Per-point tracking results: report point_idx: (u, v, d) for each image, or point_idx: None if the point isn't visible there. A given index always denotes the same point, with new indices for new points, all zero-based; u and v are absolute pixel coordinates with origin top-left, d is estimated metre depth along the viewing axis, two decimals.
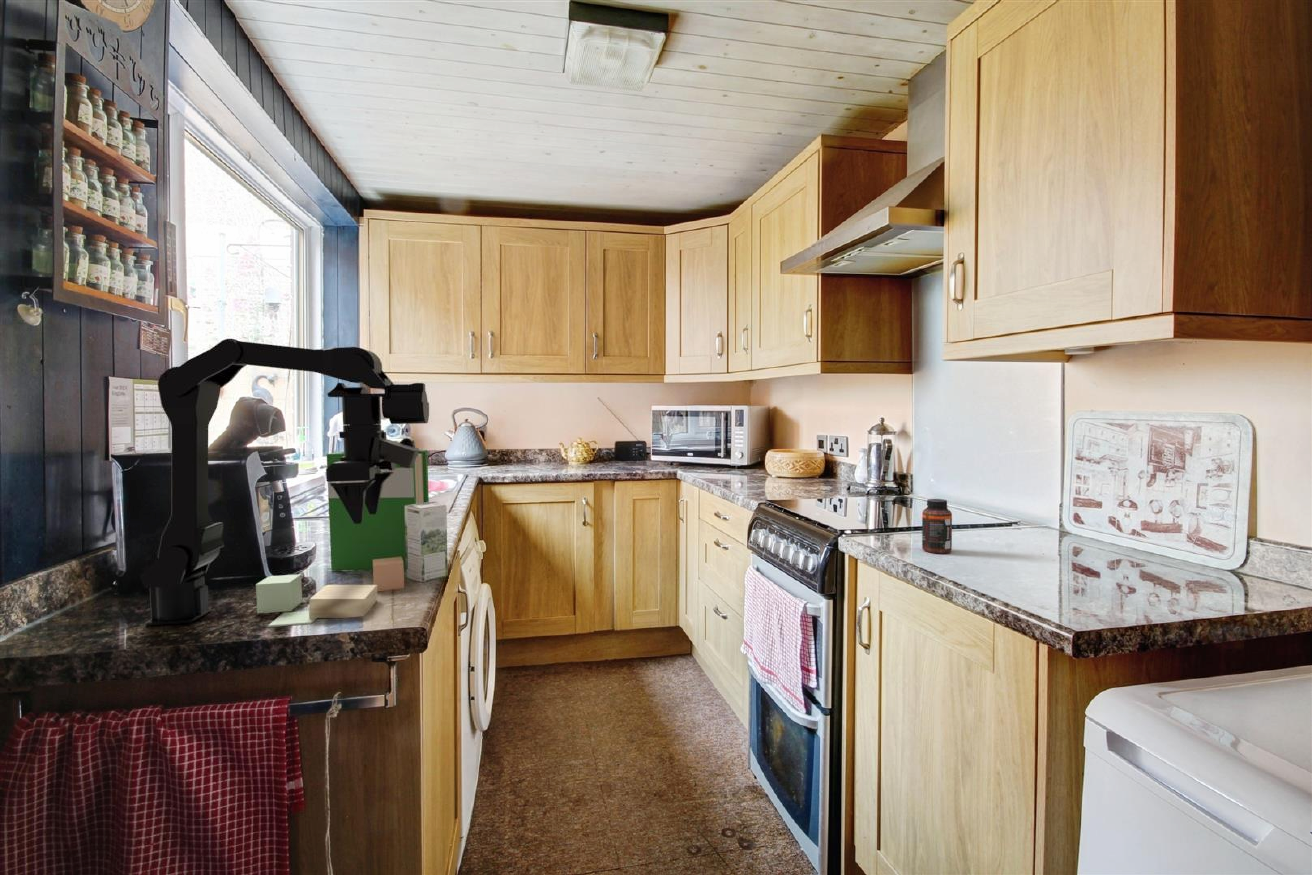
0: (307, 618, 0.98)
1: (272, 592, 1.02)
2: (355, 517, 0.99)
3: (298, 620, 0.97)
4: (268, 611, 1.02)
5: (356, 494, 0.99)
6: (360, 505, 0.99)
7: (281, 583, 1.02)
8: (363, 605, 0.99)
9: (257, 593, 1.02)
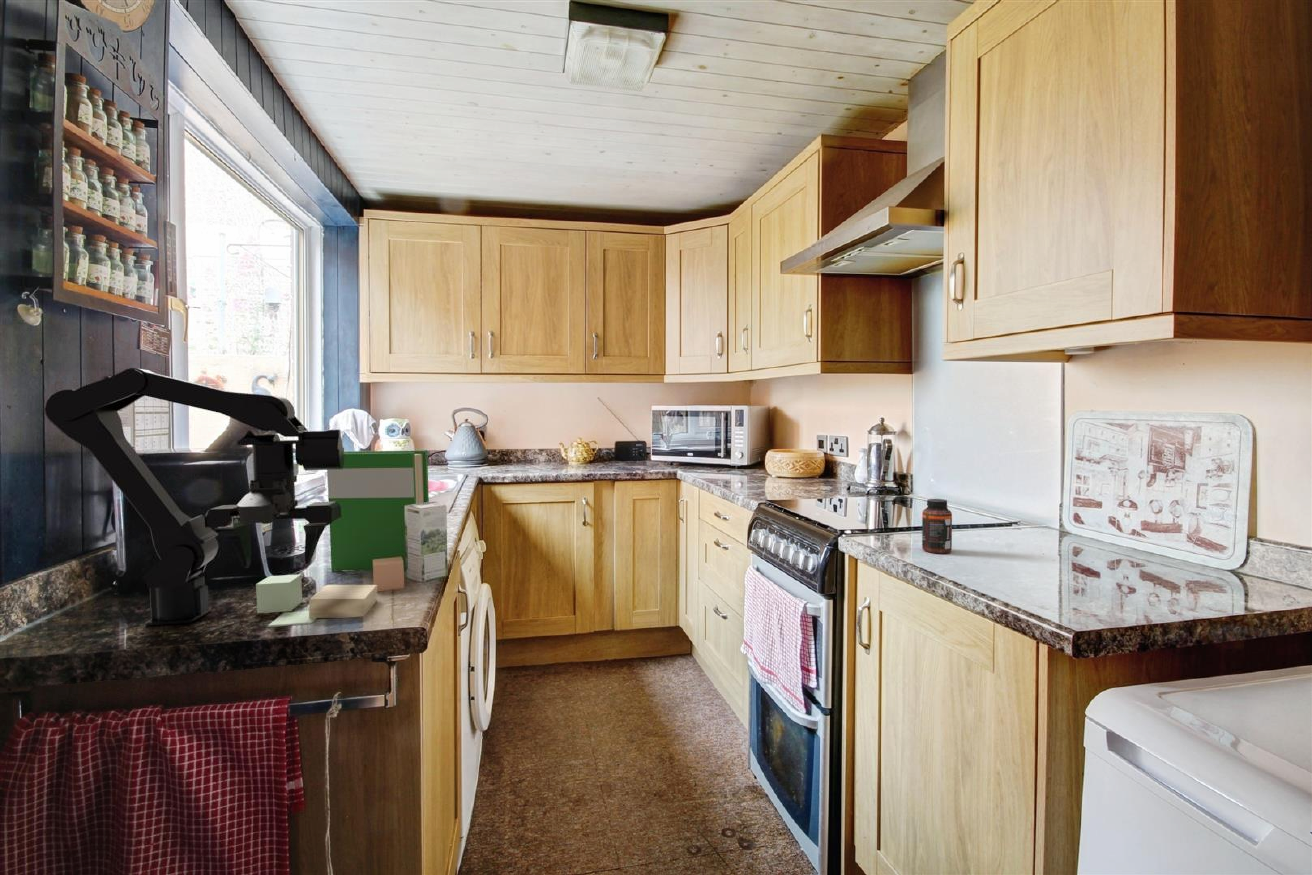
0: (307, 618, 0.98)
1: (272, 592, 1.02)
2: None
3: (298, 620, 0.97)
4: (268, 611, 1.02)
5: None
6: None
7: (281, 583, 1.02)
8: (363, 605, 0.99)
9: (257, 593, 1.02)
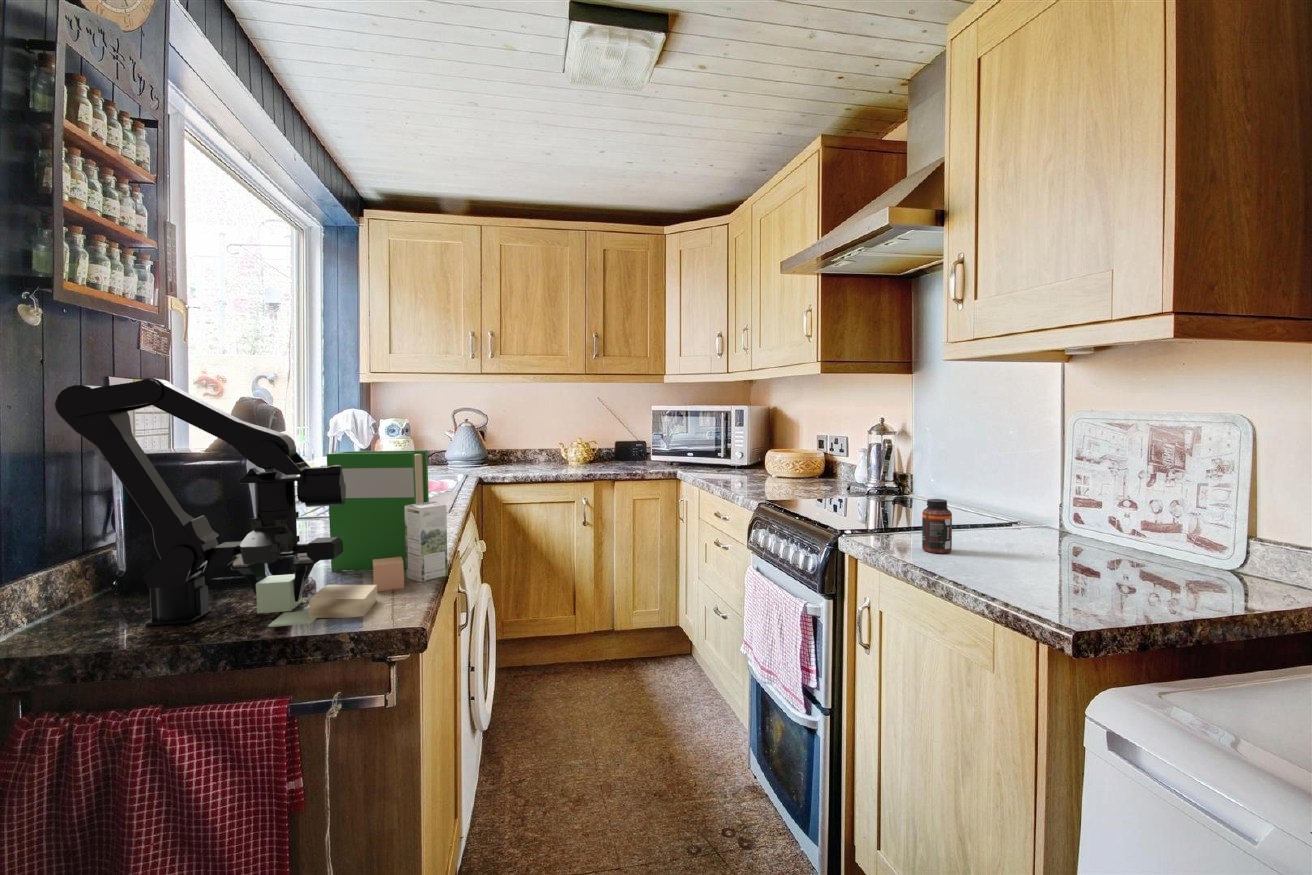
0: (307, 618, 0.98)
1: (272, 592, 1.02)
2: None
3: (298, 620, 0.97)
4: (268, 610, 1.02)
5: None
6: None
7: (281, 582, 1.02)
8: (363, 605, 0.99)
9: (257, 592, 1.02)
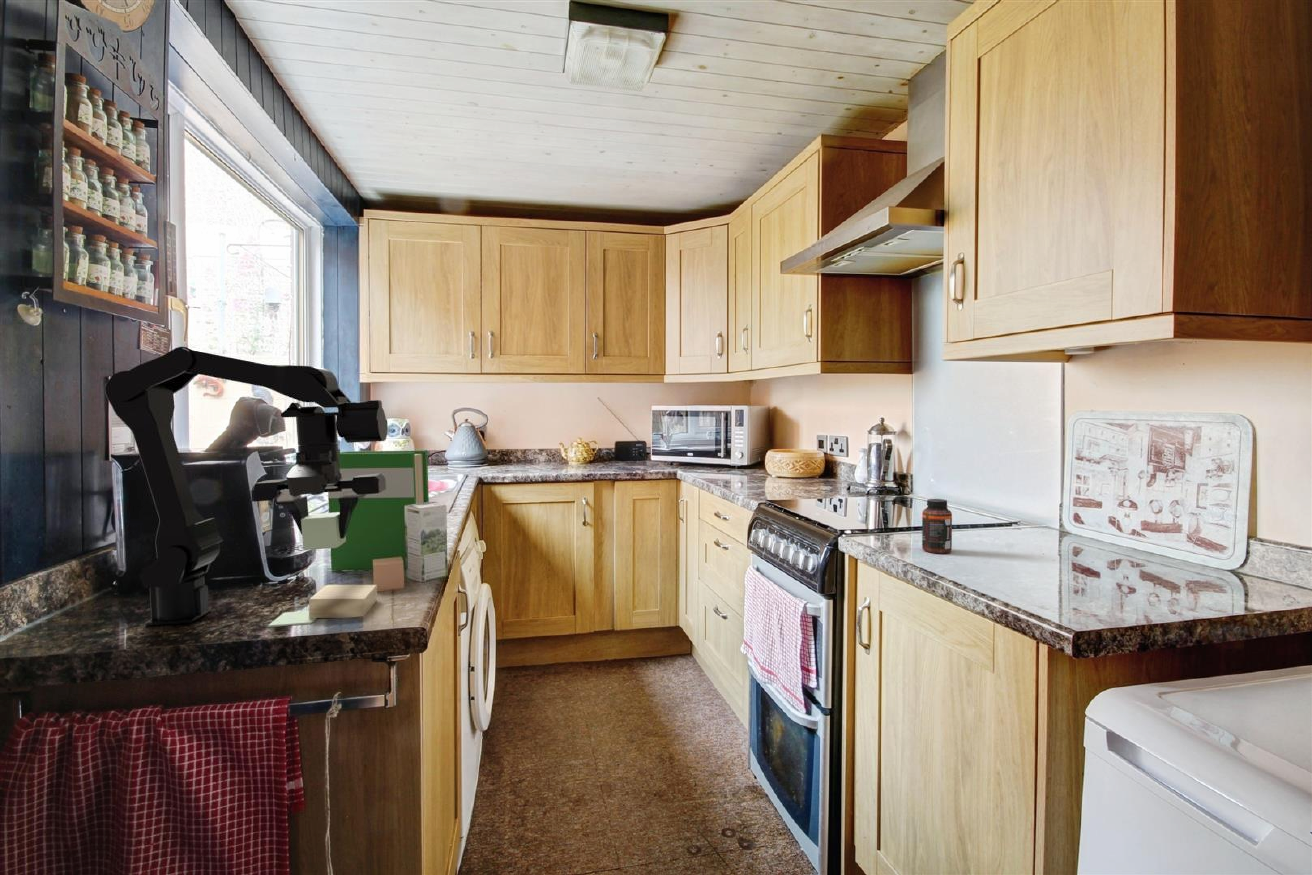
0: (307, 618, 0.98)
1: (317, 527, 1.00)
2: None
3: (298, 620, 0.97)
4: (314, 546, 1.00)
5: None
6: None
7: (326, 518, 1.01)
8: (363, 605, 0.99)
9: (302, 528, 1.00)
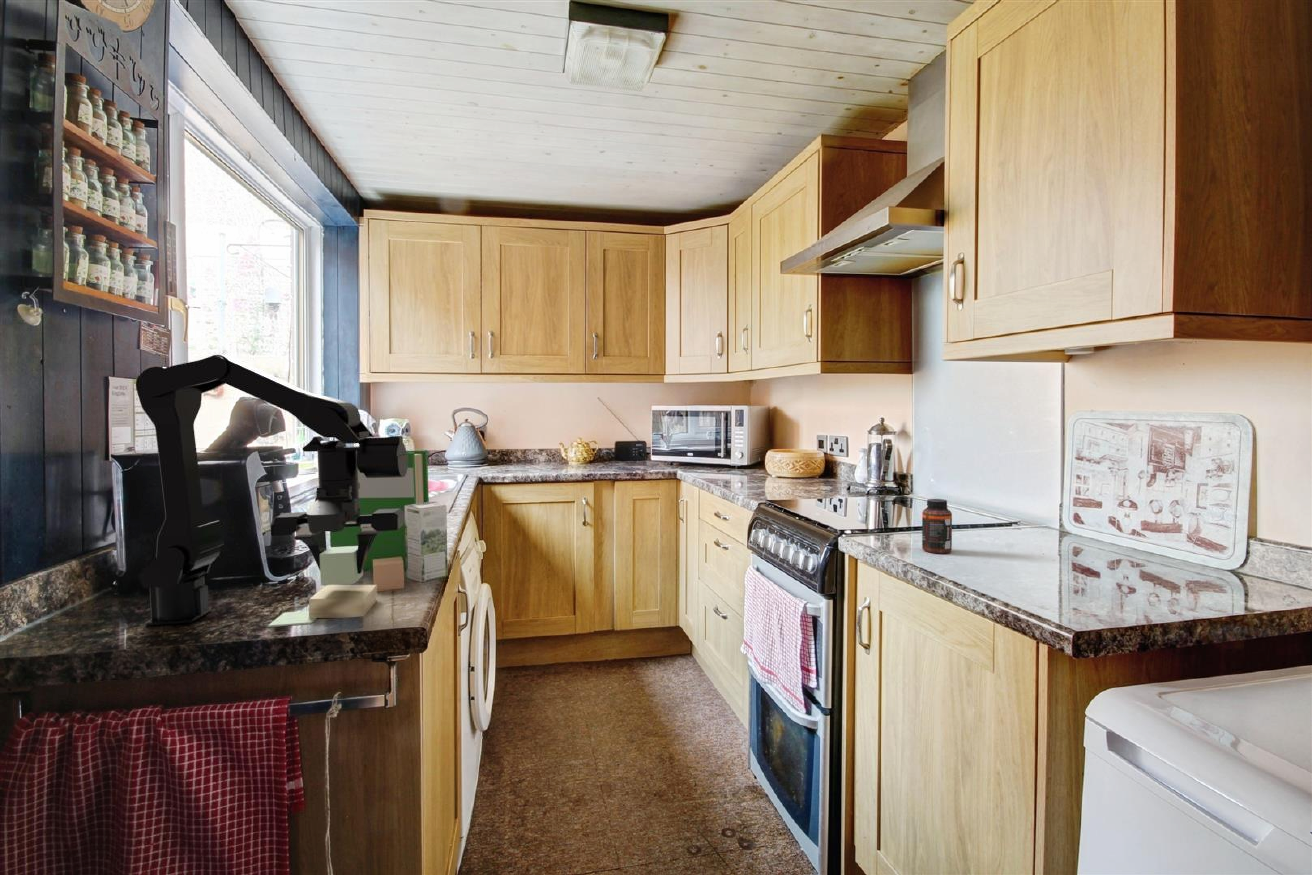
0: (307, 618, 0.98)
1: (336, 562, 1.00)
2: None
3: (298, 620, 0.97)
4: (331, 582, 1.00)
5: None
6: None
7: (345, 553, 1.00)
8: (363, 605, 0.99)
9: (321, 563, 0.99)
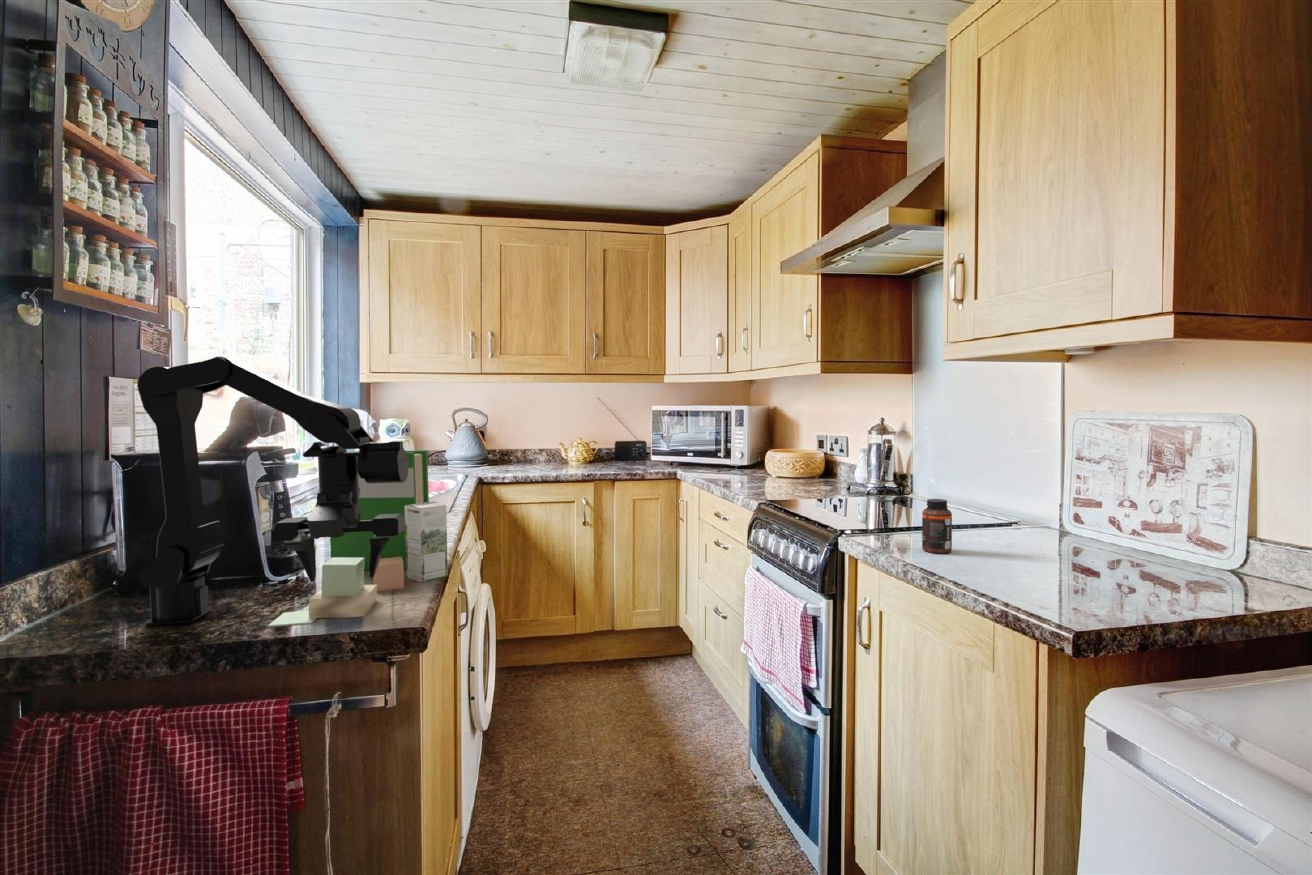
0: (307, 618, 0.98)
1: (338, 574, 1.00)
2: None
3: (298, 620, 0.97)
4: (332, 593, 1.00)
5: None
6: None
7: (347, 565, 1.00)
8: (363, 605, 0.99)
9: (323, 574, 1.00)
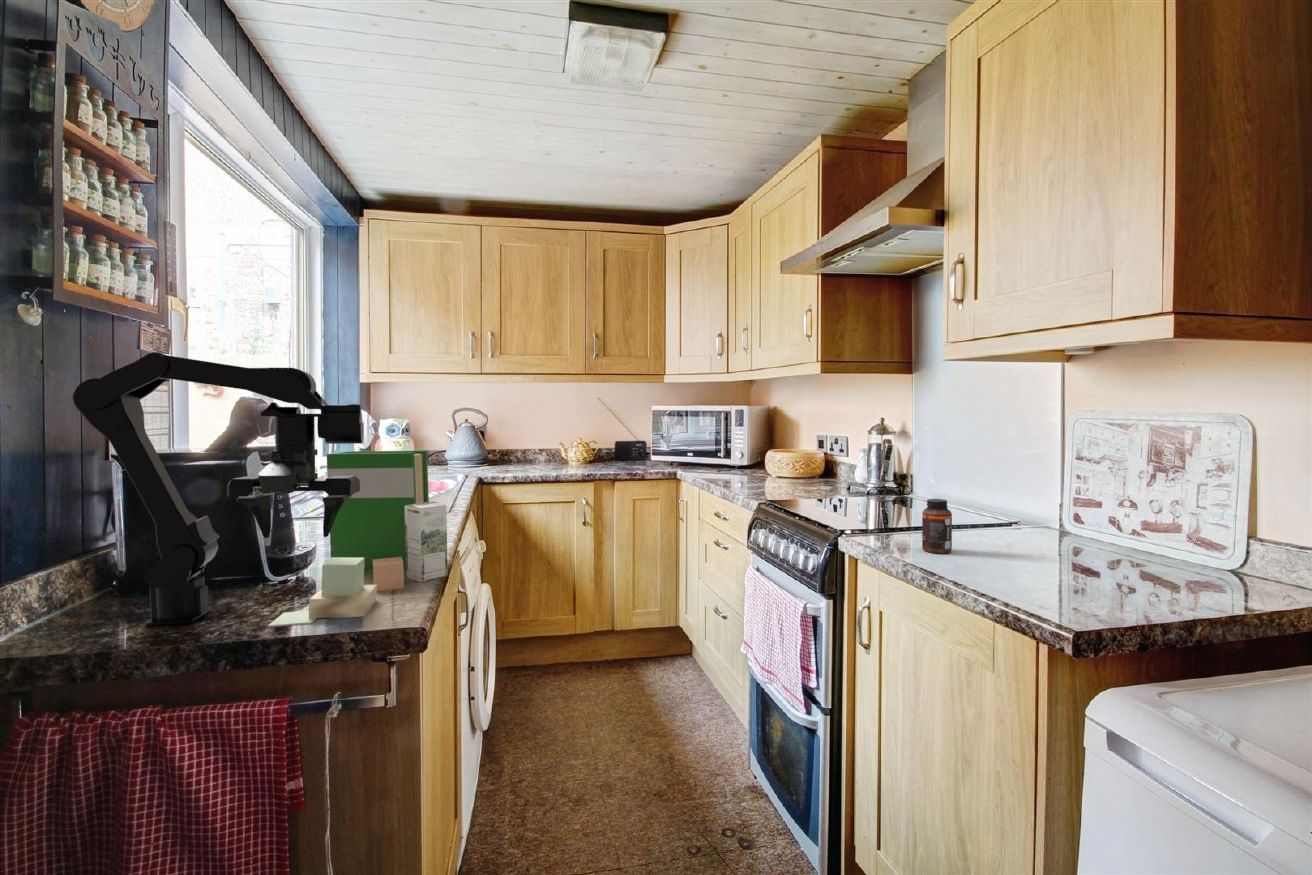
0: (307, 618, 0.98)
1: (338, 574, 1.00)
2: None
3: (298, 620, 0.97)
4: (332, 593, 1.00)
5: None
6: None
7: (347, 565, 1.00)
8: (363, 605, 0.99)
9: (323, 574, 1.00)
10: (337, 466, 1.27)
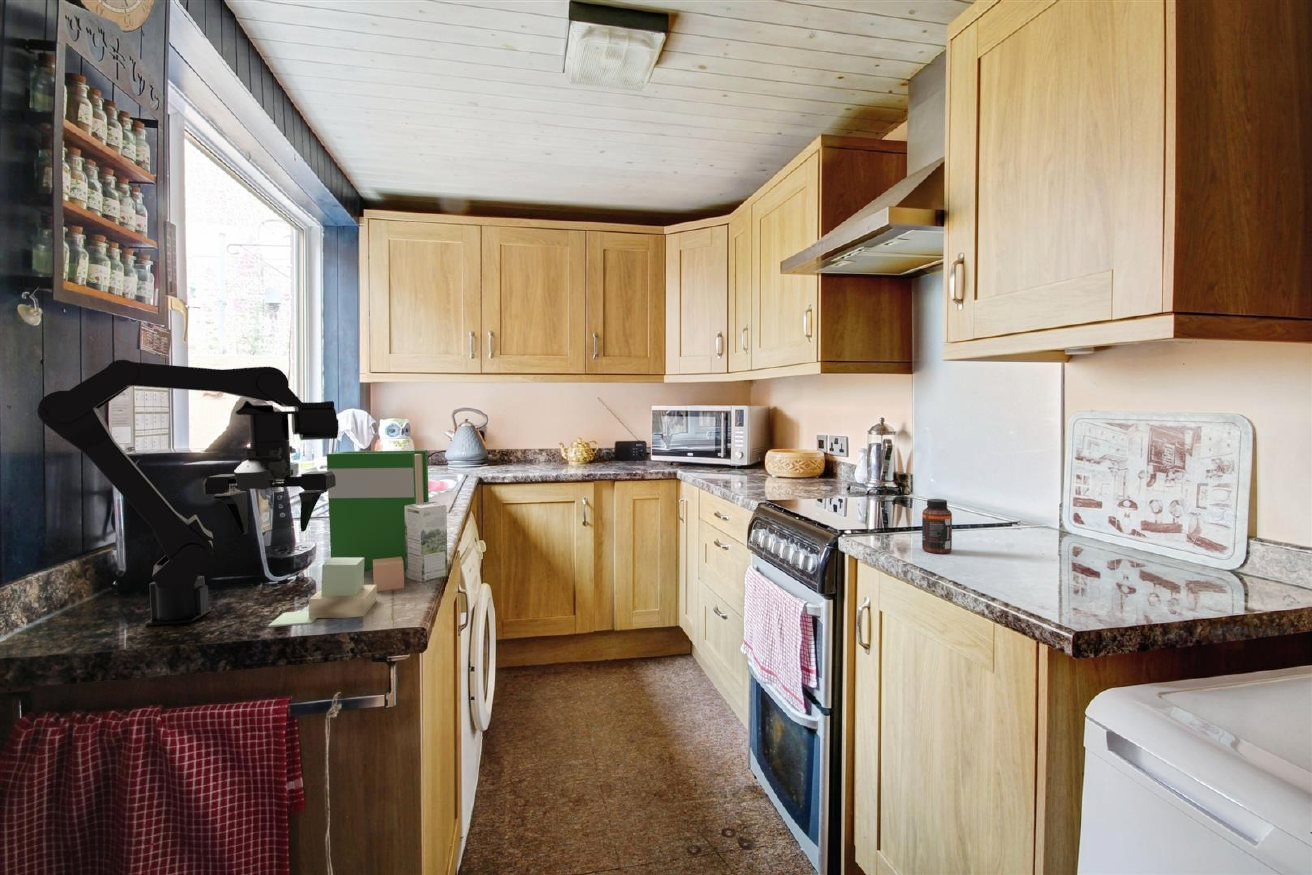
0: (307, 618, 0.98)
1: (338, 574, 1.00)
2: None
3: (298, 620, 0.97)
4: (332, 593, 1.00)
5: None
6: None
7: (347, 565, 1.00)
8: (363, 605, 0.99)
9: (323, 574, 1.00)
10: (337, 466, 1.27)
